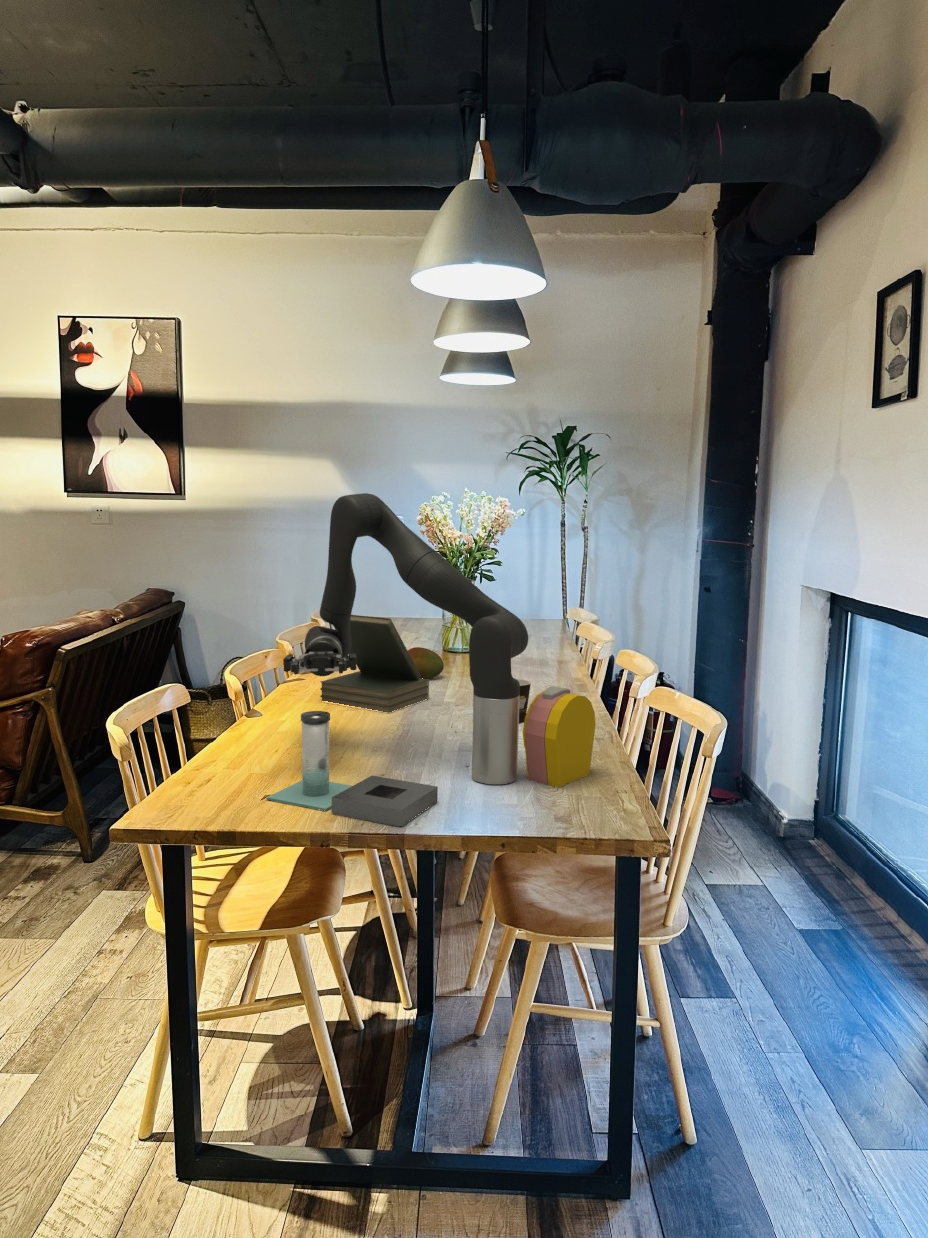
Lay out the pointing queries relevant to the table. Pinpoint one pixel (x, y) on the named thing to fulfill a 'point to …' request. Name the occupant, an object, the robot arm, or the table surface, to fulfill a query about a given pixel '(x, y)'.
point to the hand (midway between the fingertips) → (318, 668)
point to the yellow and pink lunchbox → (558, 737)
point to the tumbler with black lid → (315, 753)
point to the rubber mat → (296, 796)
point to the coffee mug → (523, 698)
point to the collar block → (384, 800)
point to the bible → (377, 670)
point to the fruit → (426, 662)
